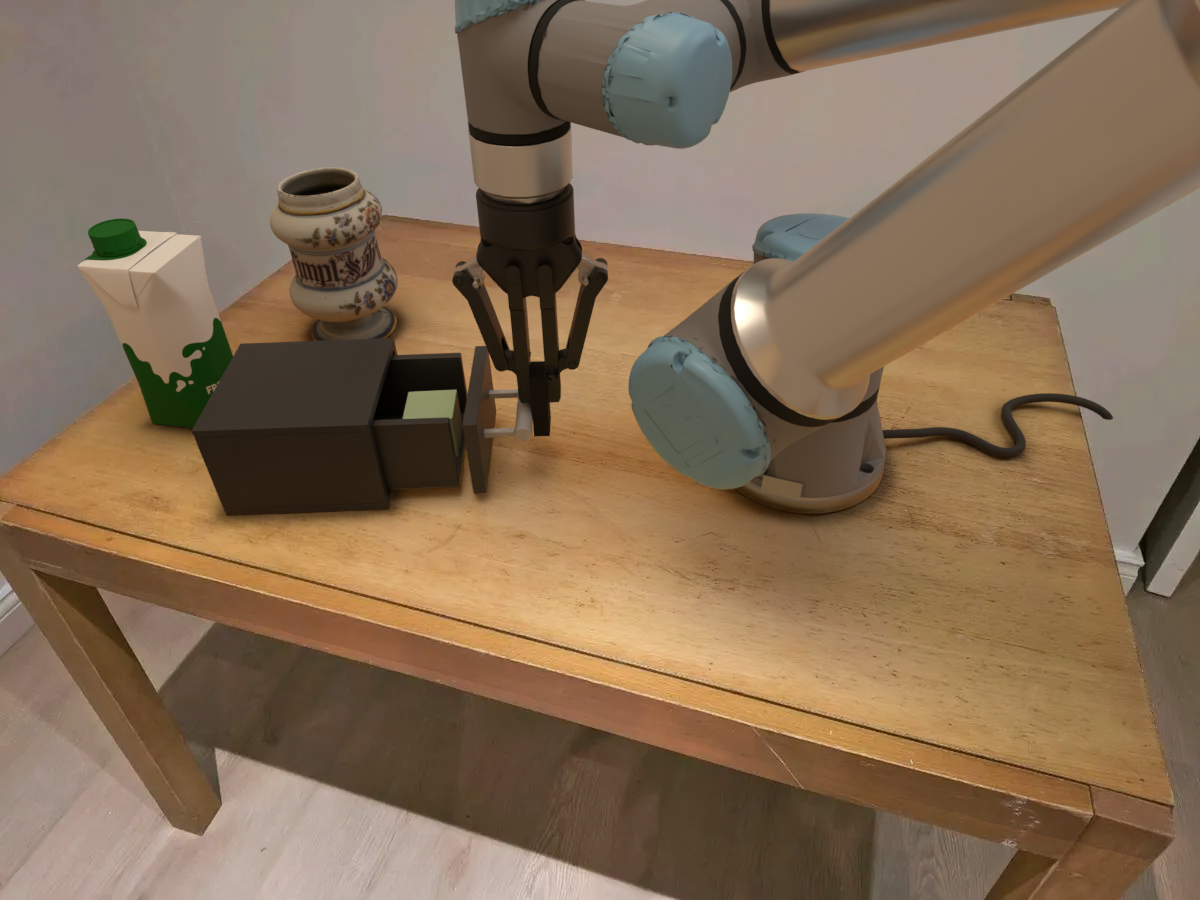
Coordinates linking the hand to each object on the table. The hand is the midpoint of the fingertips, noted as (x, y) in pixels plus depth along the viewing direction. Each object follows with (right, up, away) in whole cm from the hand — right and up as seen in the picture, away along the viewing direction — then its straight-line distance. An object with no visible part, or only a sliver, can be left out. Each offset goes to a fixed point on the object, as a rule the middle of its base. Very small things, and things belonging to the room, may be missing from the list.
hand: (542, 427), depth 81 cm
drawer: (-10, -2, +1) cm, 10 cm away
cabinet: (-21, -3, +2) cm, 21 cm away
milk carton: (-36, +2, +10) cm, 38 cm away
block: (-10, -1, 0) cm, 10 cm away
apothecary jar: (-24, +12, +21) cm, 34 cm away
